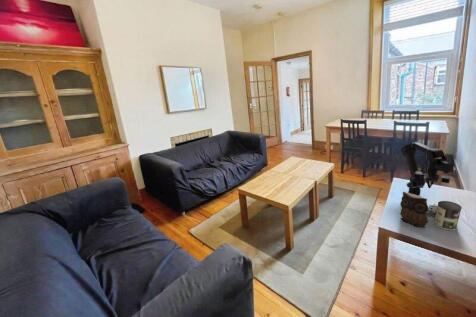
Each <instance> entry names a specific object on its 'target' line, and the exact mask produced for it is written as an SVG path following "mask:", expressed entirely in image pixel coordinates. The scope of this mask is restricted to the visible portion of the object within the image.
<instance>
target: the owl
mask: <svg viewBox="0 0 476 317" xmlns="http://www.w3.org/2000/svg"><path fill="white" fill-rule="evenodd" d="M400 207H401V208H400V212H399V215H400V216H401V218H400V221H402V222H403V223H404V222H405V224H408V225H409V224H410V225H409V226H412V225H413V226H412V227H414V228H422V229H425V227H426V225H427V224H428V223H429V219H428V218H429V217H428V215H427V213H426V212H428V207H429V205H428V198H425V197H423V196H421V195H419V196H417V195H415V194H411V193H408V192H405V191H403V192H402V197H401V201H400Z"/></svg>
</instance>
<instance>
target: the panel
mask: <svg viewBox="0 0 476 317" xmlns="http://www.w3.org/2000/svg"><path fill="white" fill-rule="evenodd" d="M433 205H434V204H429V205H428V212H426V213H427V217H428V216H429V217H431V218H432V217H433V218H435V217H436V212H435V213H433V211H432V209H433Z"/></svg>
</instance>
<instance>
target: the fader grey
mask: <svg viewBox="0 0 476 317" xmlns="http://www.w3.org/2000/svg"><path fill="white" fill-rule="evenodd" d="M432 205H433V209H432V211H434V210H435V209H437V207H438V204H435V203H433V204H432ZM436 212H437V211H436Z"/></svg>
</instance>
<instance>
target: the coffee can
mask: <svg viewBox="0 0 476 317" xmlns="http://www.w3.org/2000/svg"><path fill="white" fill-rule="evenodd" d="M437 205H438V207H437V212H436V217H434V222H433V223H434V225H435V226H437V228H441V229H442V230H445V231H456V230H457V228H458V224H459V219H460V217H461V211H462V206H461V205H460V204H458V203H455V202H454V201H449V200H440V201H438V202H437Z"/></svg>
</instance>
